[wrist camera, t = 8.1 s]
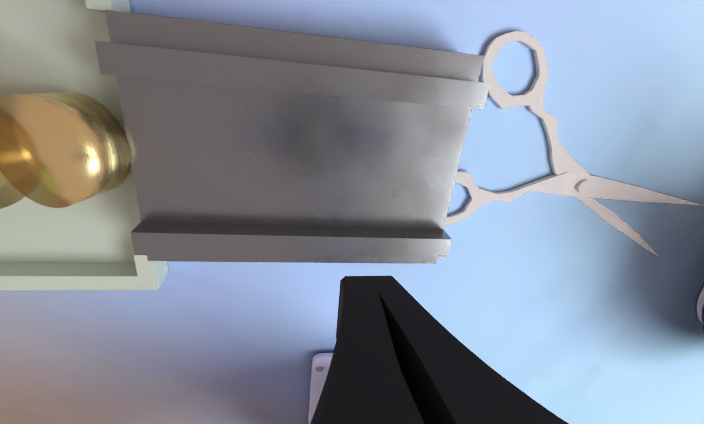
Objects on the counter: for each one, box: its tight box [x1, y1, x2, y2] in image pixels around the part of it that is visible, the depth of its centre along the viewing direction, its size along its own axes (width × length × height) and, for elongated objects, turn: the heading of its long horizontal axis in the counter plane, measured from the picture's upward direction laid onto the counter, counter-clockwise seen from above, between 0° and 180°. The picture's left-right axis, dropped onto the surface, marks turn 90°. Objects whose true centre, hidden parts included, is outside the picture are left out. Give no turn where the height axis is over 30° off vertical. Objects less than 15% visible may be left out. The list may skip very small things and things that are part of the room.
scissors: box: [445, 31, 700, 257], centre depth 19 cm, size 11×1×20 cm
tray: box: [0, 0, 169, 291], centre depth 14 cm, size 14×10×2 cm
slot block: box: [95, 10, 490, 263], centre depth 15 cm, size 10×14×3 cm
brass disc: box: [0, 92, 131, 208], centre depth 13 cm, size 4×4×2 cm
